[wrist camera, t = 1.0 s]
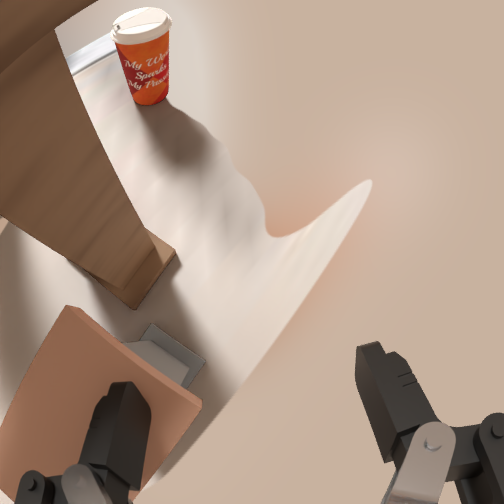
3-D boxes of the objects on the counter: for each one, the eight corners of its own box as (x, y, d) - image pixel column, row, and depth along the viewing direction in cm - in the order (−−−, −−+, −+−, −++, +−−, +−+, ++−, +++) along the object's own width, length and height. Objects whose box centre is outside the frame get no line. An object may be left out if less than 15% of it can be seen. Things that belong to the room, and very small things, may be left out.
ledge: (99, 404, 29) (-17, 471, 8) (153, 323, 32) (66, 304, 11) (149, 440, 28) (87, 556, 7) (205, 360, 32) (201, 408, 11)
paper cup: (134, 118, 38) (116, 44, 25) (120, 88, 40) (103, 18, 26) (184, 98, 40) (182, 22, 27) (166, 70, 42) (160, 0, 28)
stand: (64, 249, 33) (-130, 77, 2) (102, 198, 35) (-20, -33, 4) (135, 310, 32) (-140, 170, 2) (176, 252, 34) (95, -54, 4)
